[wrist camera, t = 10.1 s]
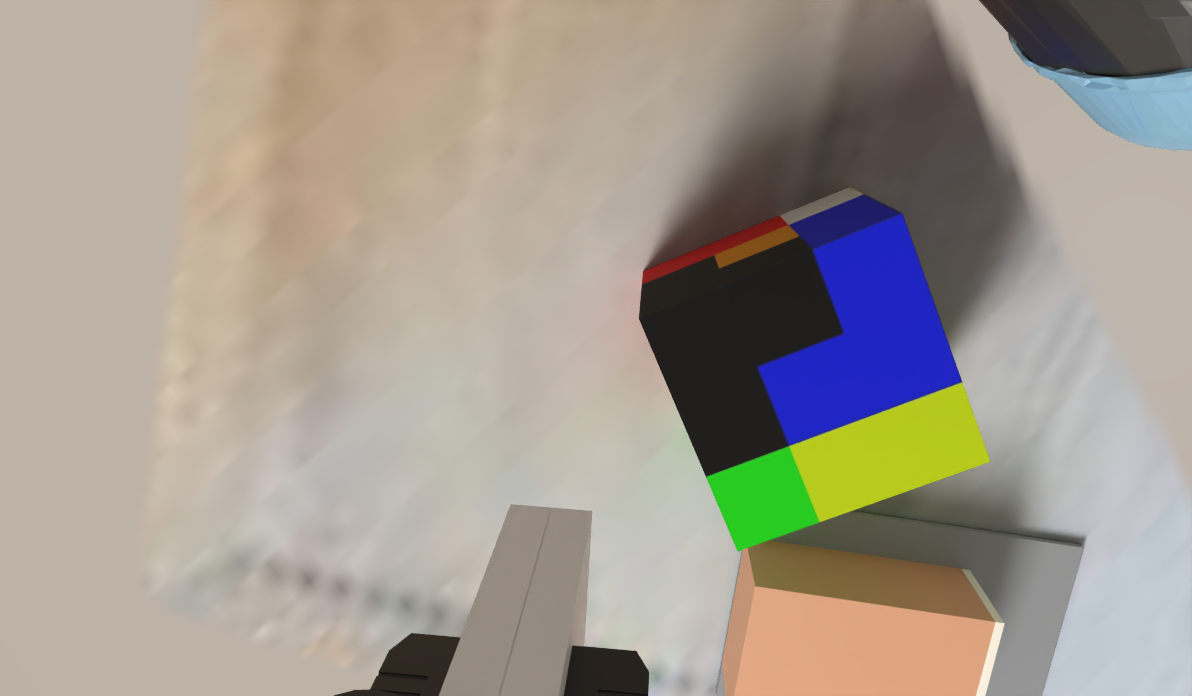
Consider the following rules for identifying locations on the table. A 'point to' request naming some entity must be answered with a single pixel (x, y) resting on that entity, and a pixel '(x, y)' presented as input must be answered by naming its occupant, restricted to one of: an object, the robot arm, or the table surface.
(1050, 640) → the mat
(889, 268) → the puzzle toy
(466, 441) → the table surface
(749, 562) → the block
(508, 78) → the table surface
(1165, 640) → the table surface
